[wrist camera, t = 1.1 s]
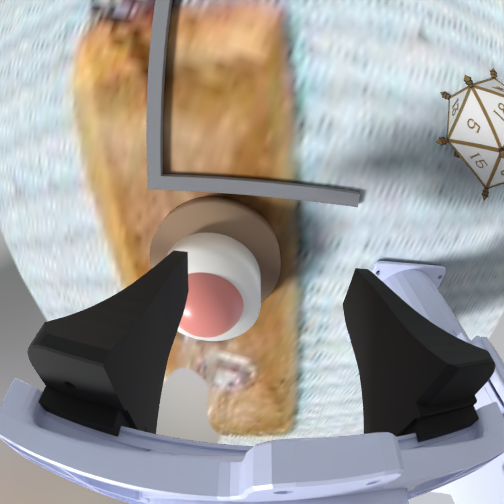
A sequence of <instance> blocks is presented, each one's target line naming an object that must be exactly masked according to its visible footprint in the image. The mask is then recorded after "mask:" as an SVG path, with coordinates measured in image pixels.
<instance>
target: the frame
mask: <svg viewBox="0 0 504 504" xmlns="http://www.w3.org/2000/svg"><path fill="white" fill-rule="evenodd" d="M172 1H173V0H156V1H155V8H154V15H153V24H152V33H151V43H150V55H149V69H148V88H147V176H148V189H154V190H178V191H197V192H213V193H228V194H241V195H253V196H265V197H275V198H285V199H295V200H304V201H313V202H322V203H330V204H338V205H346V206H353V207H358V203H359V198H360V193H359V192H358V191H352V190H345V189H338V188H331V187H323V186H315V185H307V184H299V183H290V182H280V181H270V180H259V179H248V178H235V177H220V176H203V175H181V174H163V113H164V87H165V70H166V56H167V44H168V34H169V25H170V16H171V8H172Z"/></svg>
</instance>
